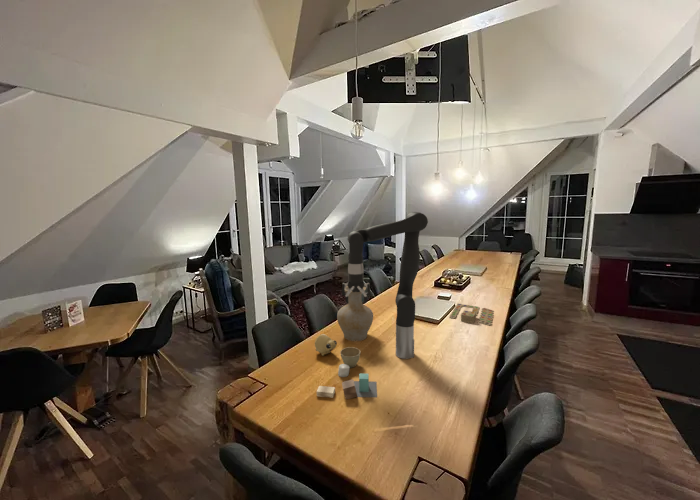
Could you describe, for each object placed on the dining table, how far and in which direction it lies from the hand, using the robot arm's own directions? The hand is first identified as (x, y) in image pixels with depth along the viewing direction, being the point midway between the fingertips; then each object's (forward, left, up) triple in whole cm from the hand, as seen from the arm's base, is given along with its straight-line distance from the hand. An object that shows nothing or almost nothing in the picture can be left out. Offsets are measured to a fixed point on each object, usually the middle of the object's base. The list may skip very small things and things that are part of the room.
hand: (356, 303), depth 150 cm
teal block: (-4, +26, -30) cm, 40 cm away
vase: (+2, -27, -30) cm, 41 cm away
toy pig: (+17, -5, -30) cm, 35 cm away
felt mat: (-4, +26, -30) cm, 40 cm away
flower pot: (+3, +6, -30) cm, 31 cm away
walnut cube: (+2, +30, -30) cm, 42 cm away
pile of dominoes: (-80, -64, -31) cm, 107 cm away
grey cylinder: (+6, +15, -30) cm, 34 cm away
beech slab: (+12, +30, -30) cm, 44 cm away
